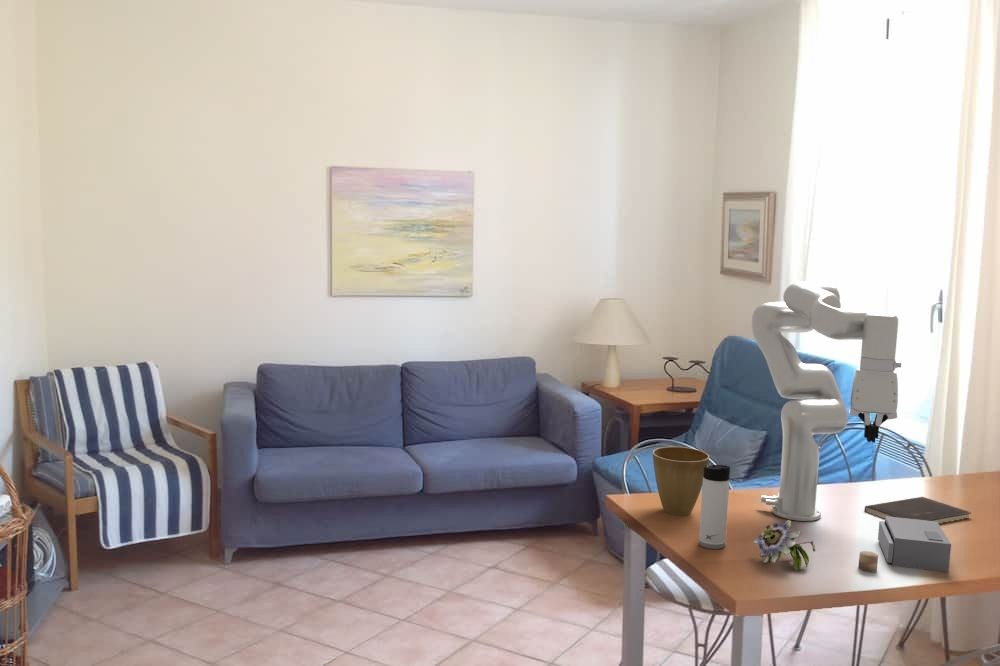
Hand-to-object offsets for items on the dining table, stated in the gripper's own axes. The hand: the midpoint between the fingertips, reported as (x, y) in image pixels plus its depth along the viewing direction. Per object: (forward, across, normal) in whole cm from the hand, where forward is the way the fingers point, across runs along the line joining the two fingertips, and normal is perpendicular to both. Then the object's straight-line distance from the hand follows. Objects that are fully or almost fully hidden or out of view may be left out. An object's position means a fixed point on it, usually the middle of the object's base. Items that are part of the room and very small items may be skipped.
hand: (870, 440), depth 230 cm
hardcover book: (+28, -18, -36) cm, 49 cm away
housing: (+27, -12, 0) cm, 30 cm away
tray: (+27, -11, 0) cm, 29 cm away
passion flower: (+27, +19, +15) cm, 37 cm away
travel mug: (+27, +35, +9) cm, 45 cm away
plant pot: (+27, +45, -15) cm, 55 cm away
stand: (+27, 0, +13) cm, 30 cm away
